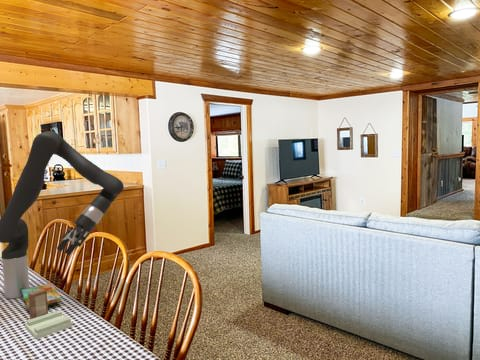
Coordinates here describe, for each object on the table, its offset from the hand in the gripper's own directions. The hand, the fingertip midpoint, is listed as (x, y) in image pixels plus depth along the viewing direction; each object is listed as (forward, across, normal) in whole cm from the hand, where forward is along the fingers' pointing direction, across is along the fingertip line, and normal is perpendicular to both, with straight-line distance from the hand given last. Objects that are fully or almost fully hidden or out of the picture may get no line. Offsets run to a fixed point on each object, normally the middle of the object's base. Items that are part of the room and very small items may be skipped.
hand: (62, 251), depth 142 cm
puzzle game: (+20, -14, +12) cm, 27 cm away
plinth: (+24, +12, +9) cm, 28 cm away
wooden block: (+24, +1, +8) cm, 25 cm away
